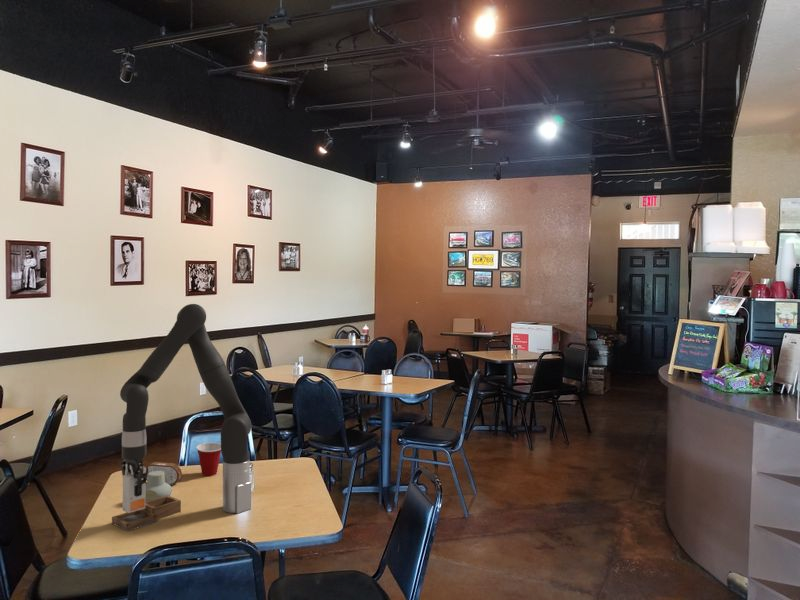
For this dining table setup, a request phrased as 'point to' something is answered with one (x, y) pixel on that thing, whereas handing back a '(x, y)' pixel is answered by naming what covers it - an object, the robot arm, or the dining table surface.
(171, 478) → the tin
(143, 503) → the skincare box
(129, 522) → the caddy
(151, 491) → the air freshener
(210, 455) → the plastic cup
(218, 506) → the dining table surface
